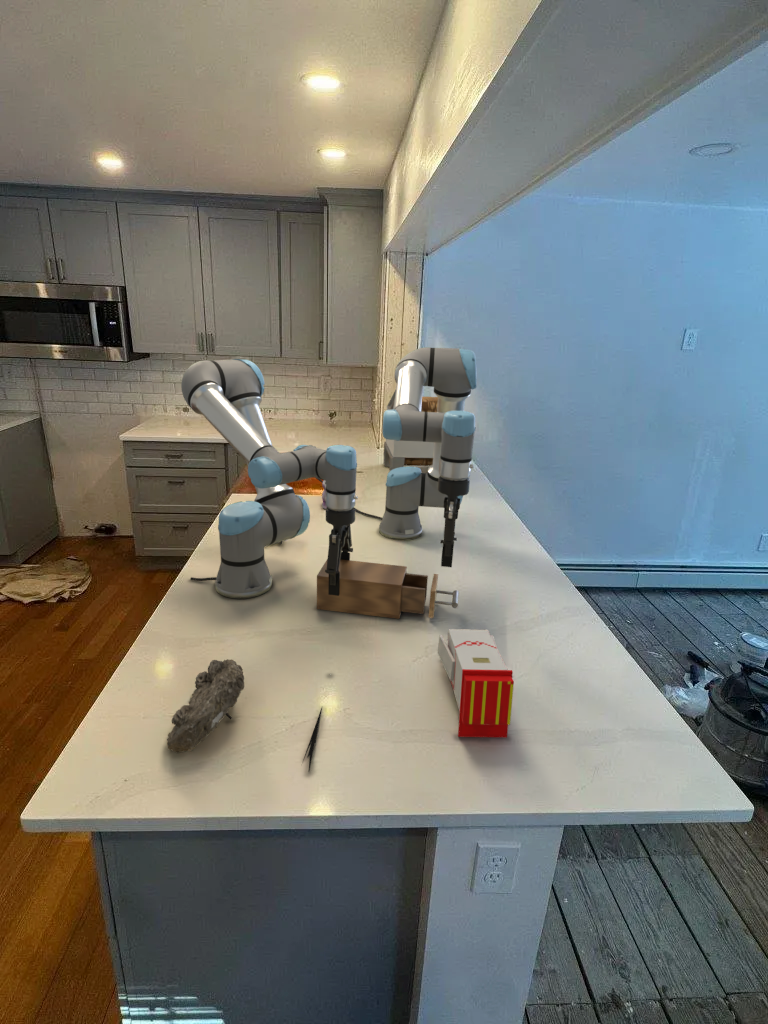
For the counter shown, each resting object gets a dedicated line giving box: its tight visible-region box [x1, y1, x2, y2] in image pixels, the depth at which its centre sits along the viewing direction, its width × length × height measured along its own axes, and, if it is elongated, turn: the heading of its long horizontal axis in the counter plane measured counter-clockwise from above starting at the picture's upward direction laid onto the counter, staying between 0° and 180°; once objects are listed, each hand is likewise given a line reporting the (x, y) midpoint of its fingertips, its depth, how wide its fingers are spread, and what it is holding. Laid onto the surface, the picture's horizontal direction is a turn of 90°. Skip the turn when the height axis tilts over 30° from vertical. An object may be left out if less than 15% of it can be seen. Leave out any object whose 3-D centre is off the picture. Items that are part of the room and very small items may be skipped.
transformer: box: [383, 389, 438, 472], centre depth 268 cm, size 34×33×41 cm
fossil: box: [166, 658, 245, 754], centre depth 106 cm, size 22×10×15 cm
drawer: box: [400, 572, 460, 619], centre depth 149 cm, size 26×10×8 cm, turn 81°
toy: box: [437, 628, 515, 738], centre depth 117 cm, size 12×13×30 cm
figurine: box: [321, 480, 327, 510], centre depth 222 cm, size 9×10×15 cm
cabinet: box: [316, 558, 408, 620], centre depth 150 cm, size 22×11×10 cm, turn 81°
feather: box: [301, 673, 332, 771], centre depth 108 cm, size 2×28×2 cm
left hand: (339, 584), depth 151 cm, fingers closed on cabinet, 11 cm apart
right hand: (446, 565), depth 144 cm, fingers closed
